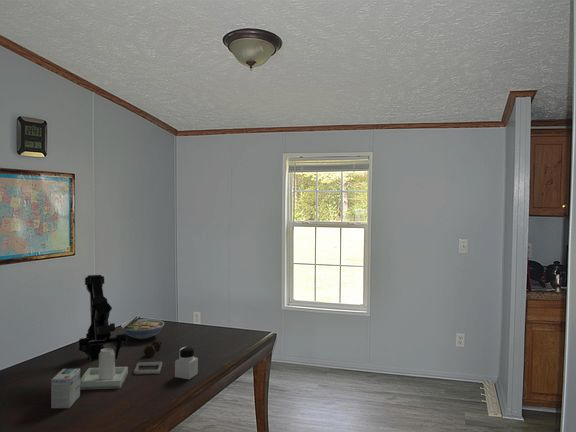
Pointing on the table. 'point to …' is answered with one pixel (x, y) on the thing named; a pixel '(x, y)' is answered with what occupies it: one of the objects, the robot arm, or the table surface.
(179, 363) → the medicine bottle
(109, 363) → the beverage can
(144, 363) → the grey square frame
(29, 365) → the table surface
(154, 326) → the ramen bowl
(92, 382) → the tray
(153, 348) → the bolt
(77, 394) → the light bulb box
